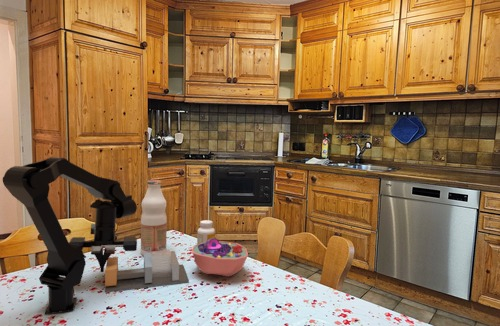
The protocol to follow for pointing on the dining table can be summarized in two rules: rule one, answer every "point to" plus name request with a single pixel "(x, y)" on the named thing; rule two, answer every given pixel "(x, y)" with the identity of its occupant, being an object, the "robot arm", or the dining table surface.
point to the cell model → (219, 257)
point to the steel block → (161, 263)
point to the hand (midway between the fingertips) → (102, 271)
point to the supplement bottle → (205, 231)
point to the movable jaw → (114, 274)
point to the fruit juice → (153, 219)
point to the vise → (134, 283)
